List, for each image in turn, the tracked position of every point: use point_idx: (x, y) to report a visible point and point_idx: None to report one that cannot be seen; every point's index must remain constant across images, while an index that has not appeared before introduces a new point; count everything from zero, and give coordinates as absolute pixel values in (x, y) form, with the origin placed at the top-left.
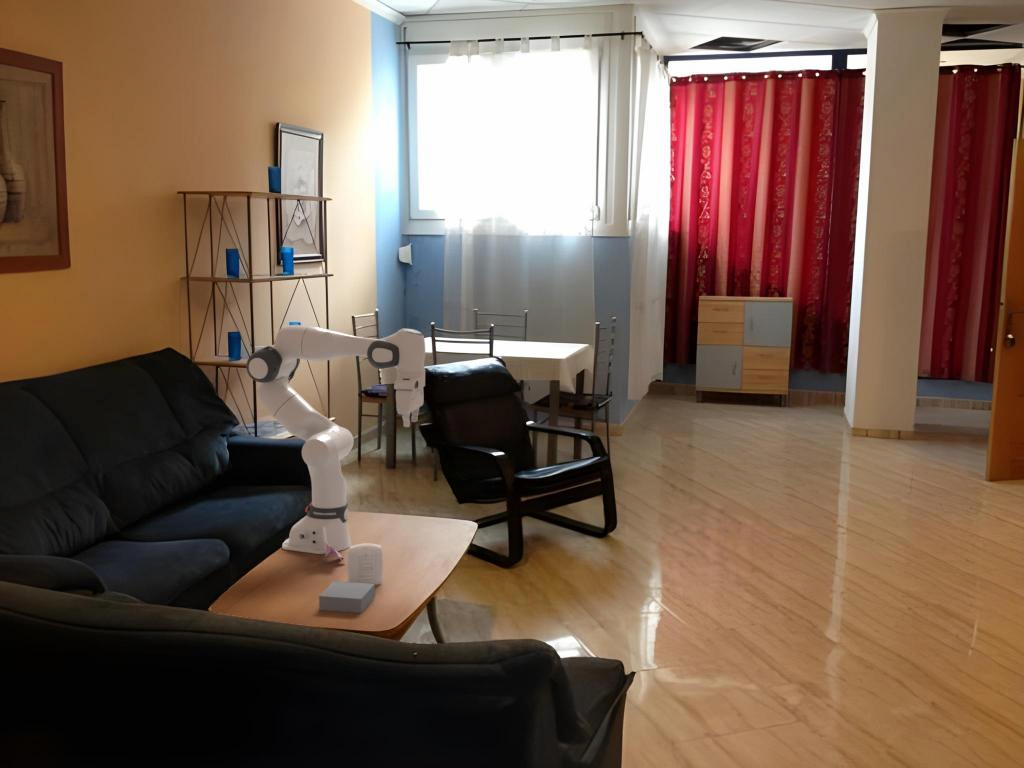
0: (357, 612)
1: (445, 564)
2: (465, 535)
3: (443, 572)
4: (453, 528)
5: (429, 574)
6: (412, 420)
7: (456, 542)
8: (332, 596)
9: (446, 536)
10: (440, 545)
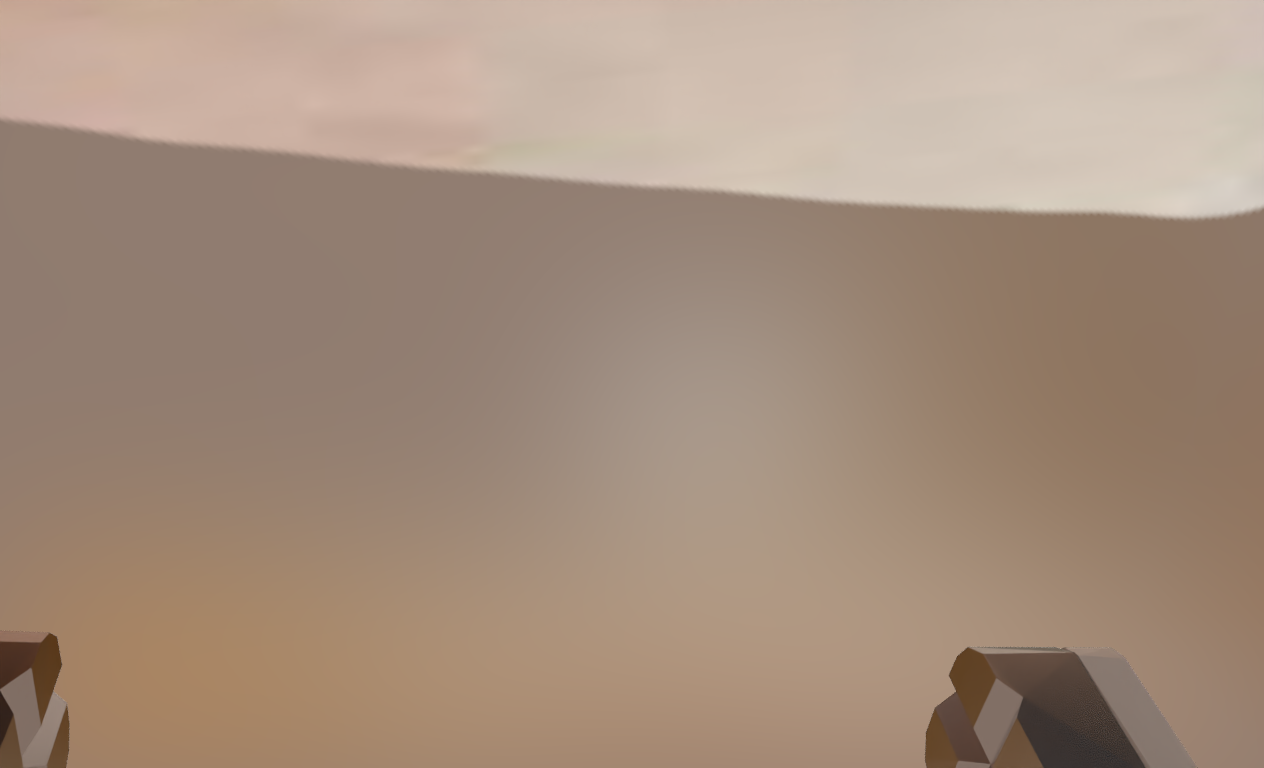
0: None
1: (380, 139)
2: (1020, 206)
3: (206, 143)
4: (1199, 110)
5: (139, 51)
6: (971, 697)
7: (869, 163)
8: None
9: (1017, 80)
10: (807, 59)
